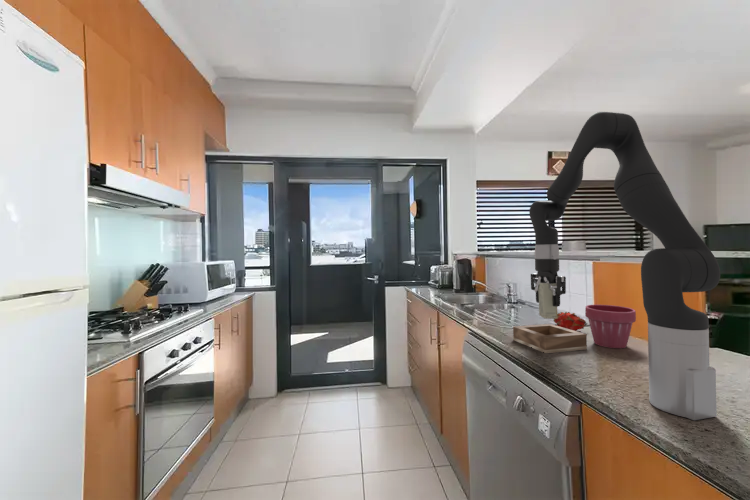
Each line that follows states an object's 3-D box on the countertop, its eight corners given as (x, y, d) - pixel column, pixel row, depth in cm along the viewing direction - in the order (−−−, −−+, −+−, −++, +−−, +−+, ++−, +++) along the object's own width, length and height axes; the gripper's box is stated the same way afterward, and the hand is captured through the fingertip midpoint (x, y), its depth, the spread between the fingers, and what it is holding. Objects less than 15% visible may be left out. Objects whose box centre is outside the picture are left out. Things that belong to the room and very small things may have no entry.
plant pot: (645, 352, 102) (644, 312, 102) (593, 349, 106) (593, 310, 106) (625, 340, 115) (624, 305, 115) (580, 337, 120) (580, 303, 120)
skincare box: (557, 319, 108) (557, 283, 108) (543, 318, 109) (543, 283, 109) (551, 315, 115) (551, 281, 115) (538, 315, 116) (537, 281, 116)
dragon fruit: (550, 333, 133) (584, 340, 128) (553, 324, 127) (589, 332, 121) (552, 314, 137) (585, 321, 132) (555, 305, 131) (590, 312, 126)
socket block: (586, 349, 106) (586, 334, 106) (545, 353, 102) (545, 337, 102) (550, 336, 122) (549, 323, 122) (513, 340, 118) (513, 326, 118)
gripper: (523, 257, 118) (524, 301, 118) (553, 258, 104) (554, 308, 104) (541, 257, 120) (541, 300, 120) (572, 257, 106) (573, 307, 106)
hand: (547, 304), depth 112 cm, fingers closed on skincare box, 7 cm apart
